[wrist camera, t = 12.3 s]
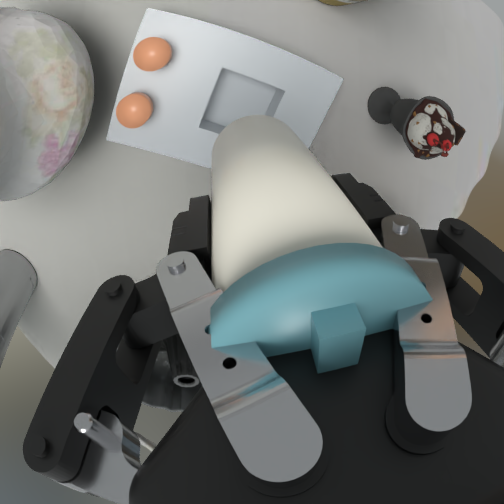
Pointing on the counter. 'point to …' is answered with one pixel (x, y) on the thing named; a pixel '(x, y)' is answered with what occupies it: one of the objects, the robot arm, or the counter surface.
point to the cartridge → (295, 252)
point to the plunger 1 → (152, 54)
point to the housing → (218, 88)
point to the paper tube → (340, 2)
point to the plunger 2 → (134, 110)
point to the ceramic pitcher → (40, 99)
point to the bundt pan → (172, 377)
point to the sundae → (417, 122)
